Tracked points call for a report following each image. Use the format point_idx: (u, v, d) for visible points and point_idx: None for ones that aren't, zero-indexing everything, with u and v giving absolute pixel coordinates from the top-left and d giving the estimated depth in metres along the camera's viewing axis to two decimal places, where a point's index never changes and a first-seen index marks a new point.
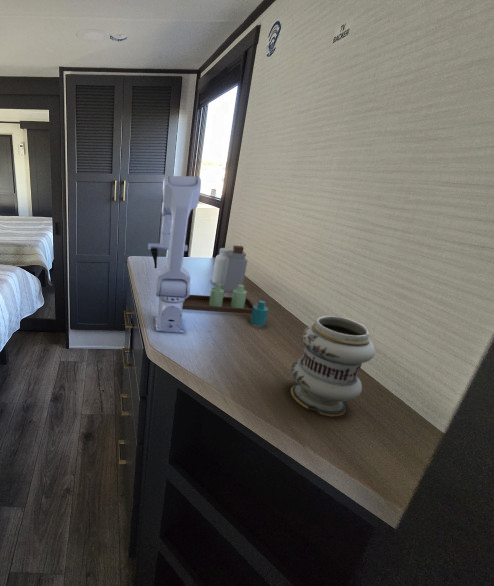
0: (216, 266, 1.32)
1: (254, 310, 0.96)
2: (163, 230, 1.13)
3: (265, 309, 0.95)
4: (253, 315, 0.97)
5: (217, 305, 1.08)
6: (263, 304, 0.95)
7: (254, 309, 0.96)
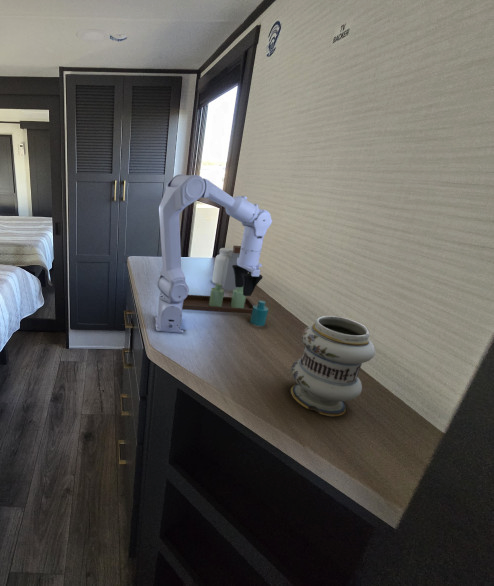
0: (216, 266, 1.32)
1: (254, 310, 0.96)
2: None
3: (265, 309, 0.95)
4: (253, 315, 0.97)
5: (217, 305, 1.08)
6: (263, 304, 0.95)
7: (254, 309, 0.96)
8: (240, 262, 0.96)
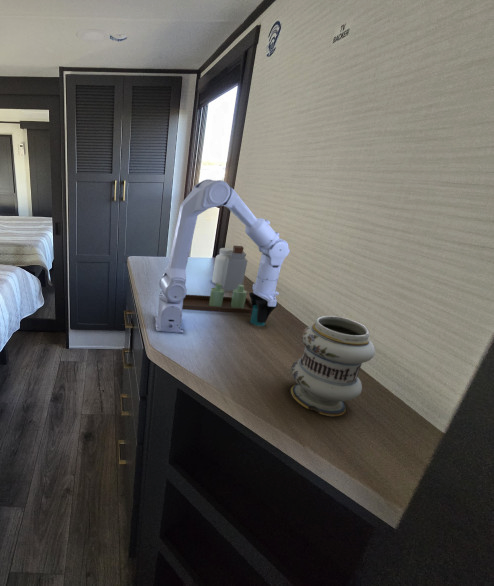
0: (216, 266, 1.32)
1: (254, 310, 0.96)
2: None
3: None
4: (253, 315, 0.97)
5: (217, 305, 1.08)
6: None
7: (254, 309, 0.96)
8: (256, 290, 0.94)
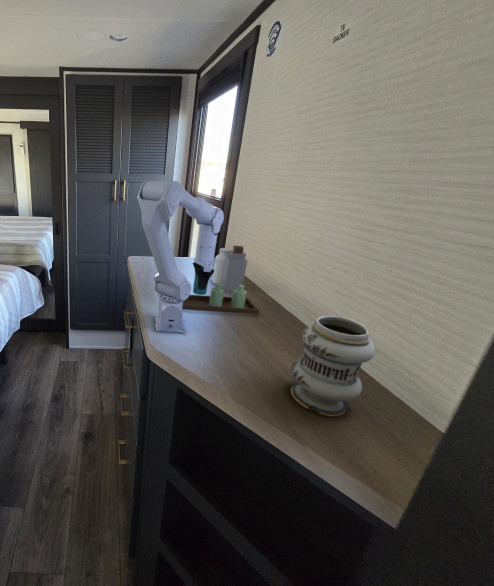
0: (216, 266, 1.32)
1: (195, 278, 1.02)
2: (197, 242, 0.99)
3: None
4: (195, 283, 1.03)
5: (217, 305, 1.08)
6: None
7: (195, 277, 1.02)
8: (196, 258, 1.00)
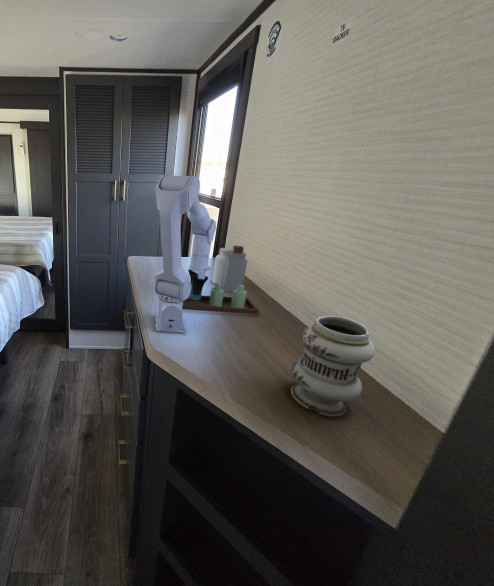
0: (216, 266, 1.32)
1: None
2: (192, 251, 1.04)
3: None
4: None
5: (217, 305, 1.08)
6: None
7: None
8: (191, 266, 1.06)
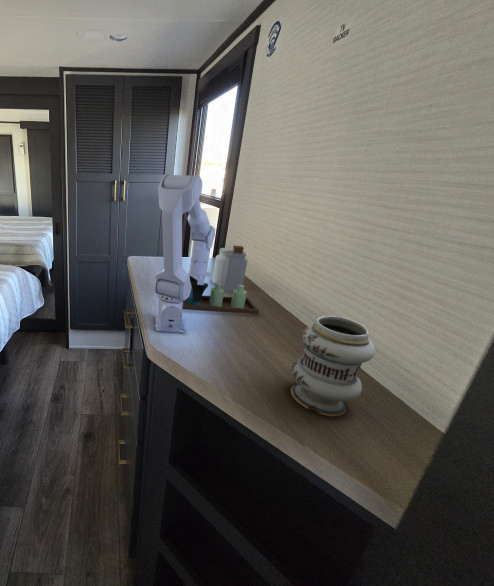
0: (216, 266, 1.32)
1: None
2: (191, 256, 1.05)
3: None
4: (189, 295, 1.10)
5: (217, 305, 1.08)
6: None
7: None
8: (190, 271, 1.06)
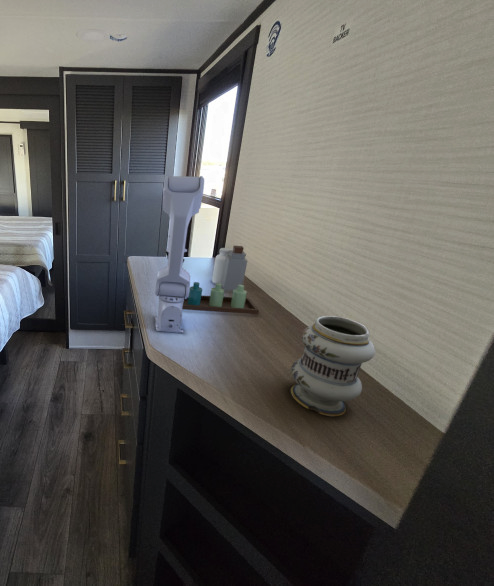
0: (216, 266, 1.32)
1: (190, 290, 1.09)
2: (170, 233, 1.06)
3: (199, 289, 1.08)
4: (189, 295, 1.10)
5: (217, 305, 1.08)
6: (197, 285, 1.08)
7: (190, 290, 1.09)
8: (167, 248, 1.08)
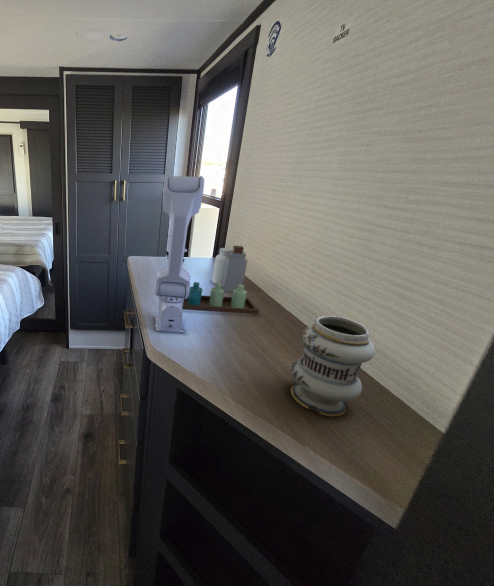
0: (216, 266, 1.32)
1: (190, 290, 1.09)
2: (170, 233, 1.06)
3: (199, 289, 1.08)
4: (189, 295, 1.10)
5: (217, 305, 1.08)
6: (197, 285, 1.08)
7: (190, 290, 1.09)
8: (167, 248, 1.08)
